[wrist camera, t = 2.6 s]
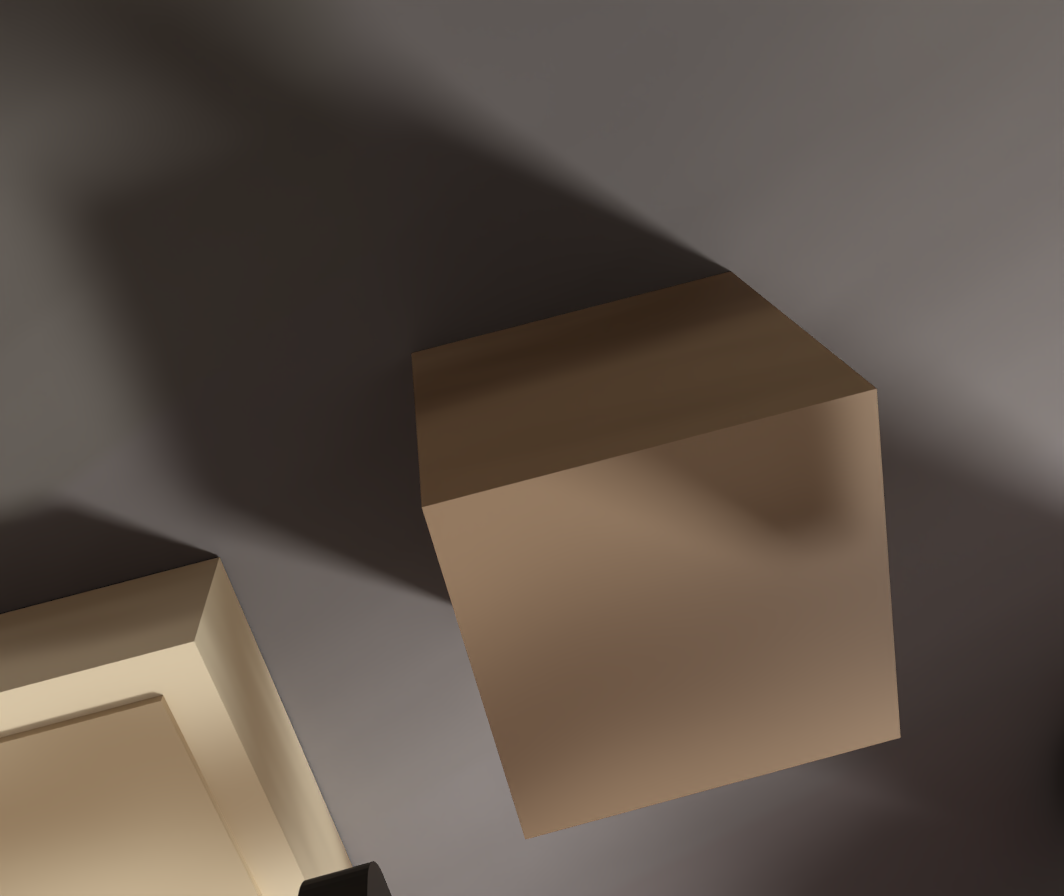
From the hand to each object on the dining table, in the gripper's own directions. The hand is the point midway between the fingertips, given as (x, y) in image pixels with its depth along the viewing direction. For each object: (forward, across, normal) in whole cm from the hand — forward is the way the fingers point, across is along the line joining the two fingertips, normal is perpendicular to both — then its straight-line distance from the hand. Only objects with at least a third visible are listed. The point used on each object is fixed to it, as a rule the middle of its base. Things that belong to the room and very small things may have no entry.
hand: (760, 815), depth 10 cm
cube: (+8, 0, 0) cm, 8 cm away
